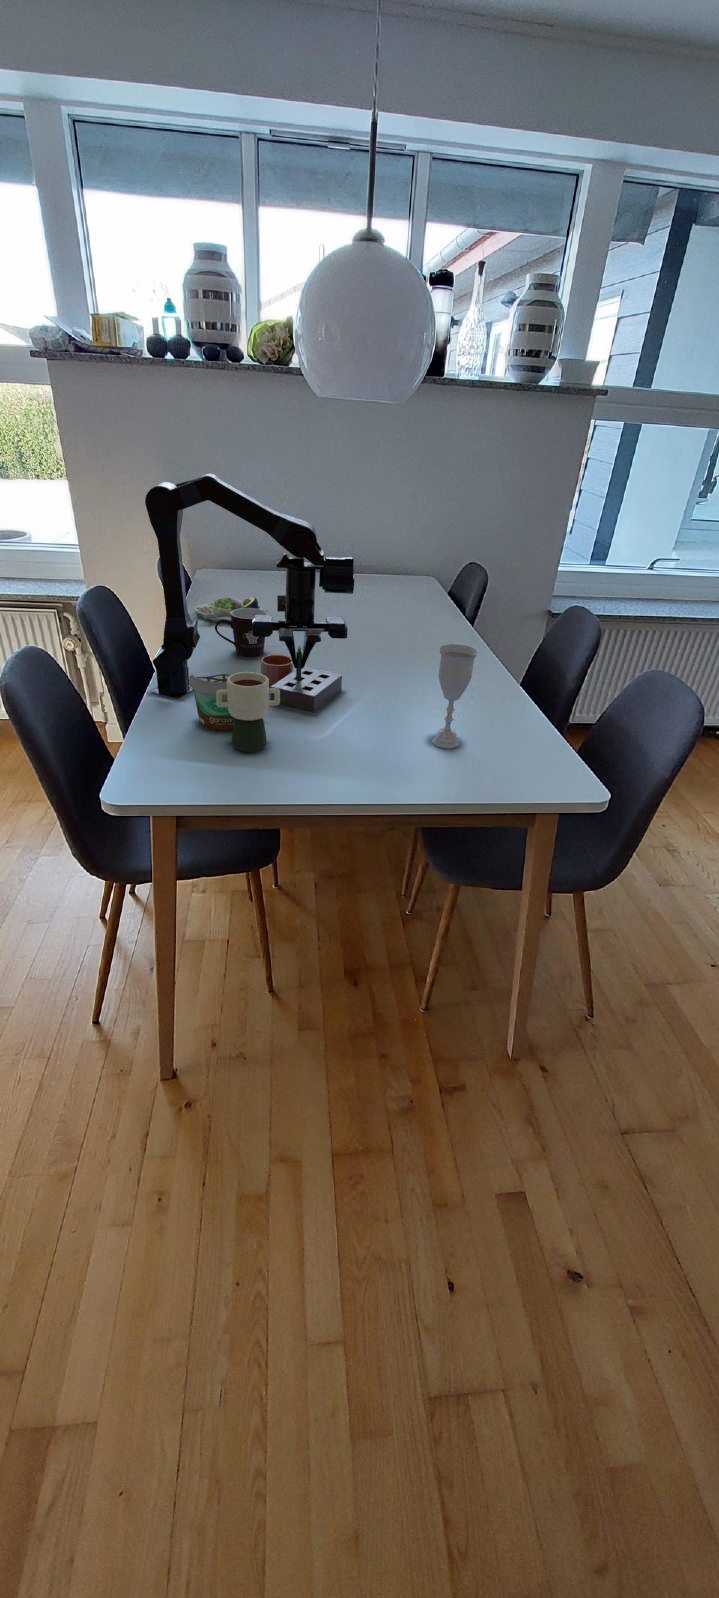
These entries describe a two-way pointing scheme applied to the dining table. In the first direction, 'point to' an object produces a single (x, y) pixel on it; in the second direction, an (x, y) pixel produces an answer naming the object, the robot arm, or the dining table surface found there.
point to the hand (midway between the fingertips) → (298, 667)
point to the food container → (211, 702)
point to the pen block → (308, 689)
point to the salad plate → (224, 608)
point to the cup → (276, 667)
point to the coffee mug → (244, 632)
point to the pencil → (299, 664)
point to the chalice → (453, 685)
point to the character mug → (248, 708)
